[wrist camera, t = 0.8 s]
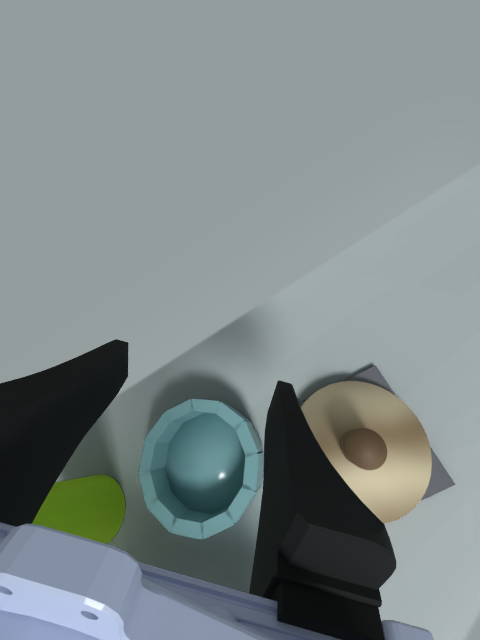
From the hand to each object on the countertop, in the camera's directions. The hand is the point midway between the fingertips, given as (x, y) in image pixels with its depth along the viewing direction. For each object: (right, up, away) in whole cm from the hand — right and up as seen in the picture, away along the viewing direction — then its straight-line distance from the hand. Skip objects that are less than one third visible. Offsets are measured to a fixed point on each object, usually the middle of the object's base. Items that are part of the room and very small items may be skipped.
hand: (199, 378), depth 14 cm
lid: (+11, -8, +10) cm, 17 cm away
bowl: (-1, -10, +13) cm, 16 cm away
